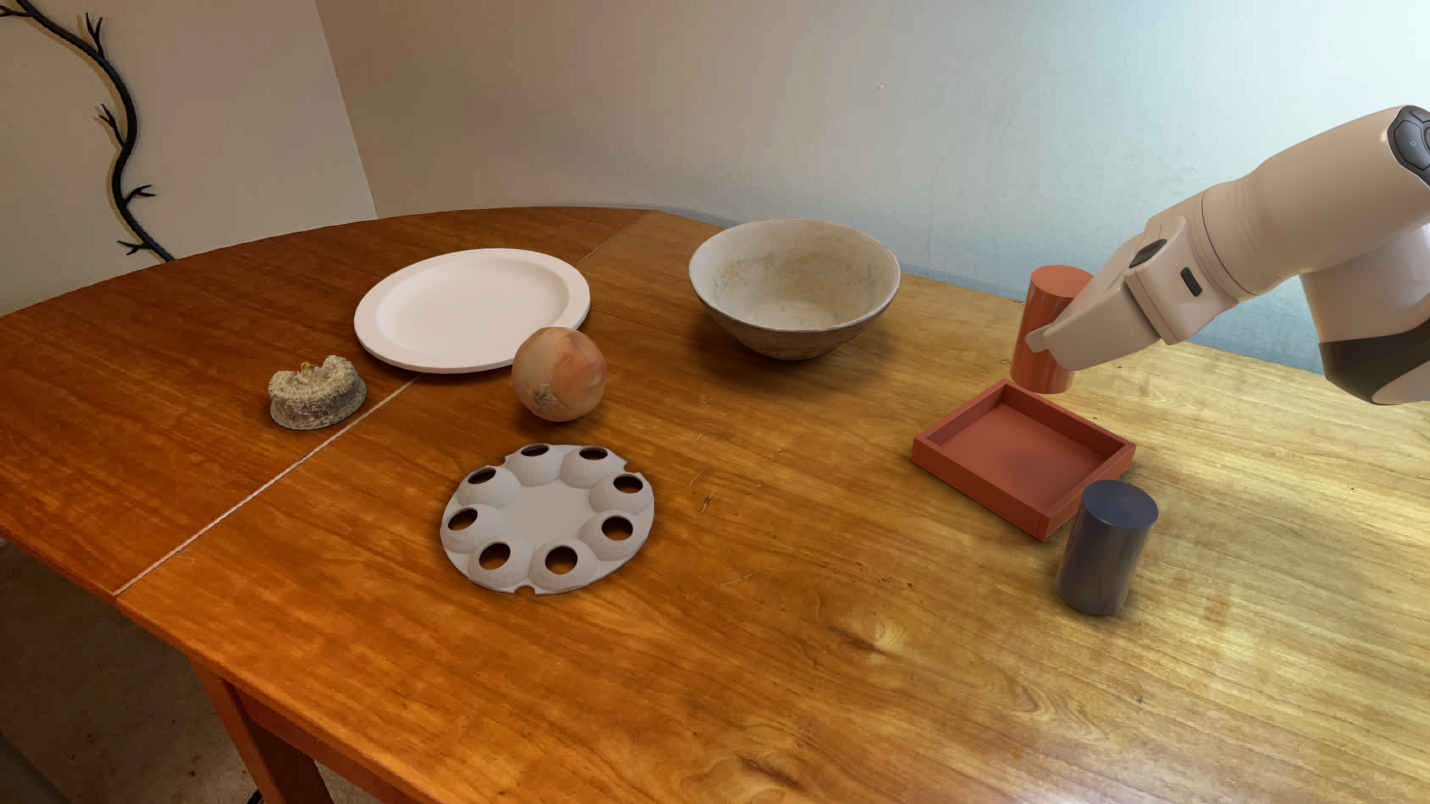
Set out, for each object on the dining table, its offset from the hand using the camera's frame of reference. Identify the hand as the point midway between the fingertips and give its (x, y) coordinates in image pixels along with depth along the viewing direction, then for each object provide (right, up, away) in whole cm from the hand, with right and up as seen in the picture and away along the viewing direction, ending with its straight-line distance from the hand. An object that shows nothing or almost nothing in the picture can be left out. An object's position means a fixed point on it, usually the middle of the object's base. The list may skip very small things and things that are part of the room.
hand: (1046, 324), depth 80 cm
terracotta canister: (+1, -4, +3) cm, 5 cm away
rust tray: (+1, -13, +9) cm, 16 cm away
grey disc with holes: (-45, -17, +4) cm, 48 cm away
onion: (-45, -8, +17) cm, 49 cm away
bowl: (-20, +1, +28) cm, 34 cm away
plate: (-59, +3, +32) cm, 67 cm away
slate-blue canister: (+2, -23, -3) cm, 23 cm away
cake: (-72, -7, +19) cm, 75 cm away
